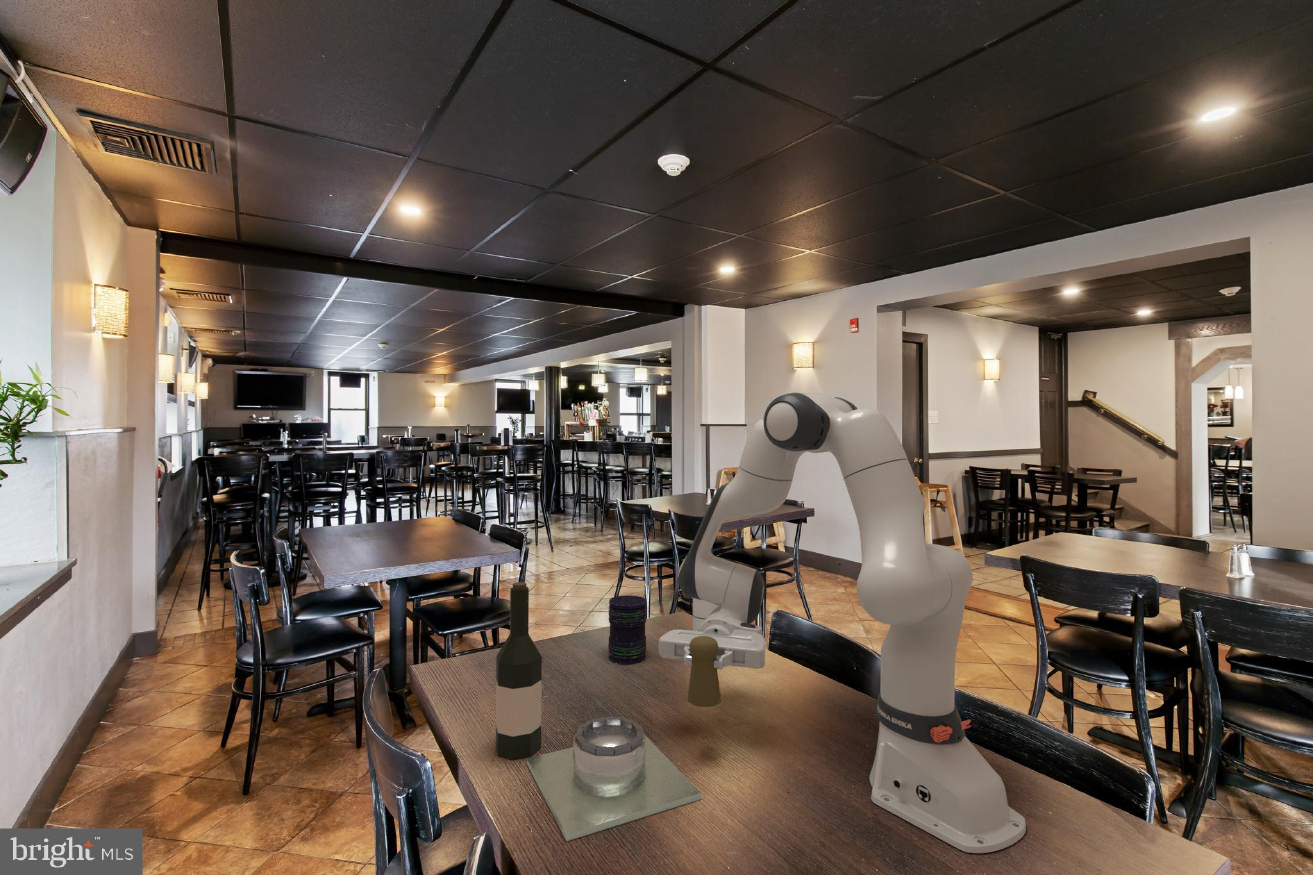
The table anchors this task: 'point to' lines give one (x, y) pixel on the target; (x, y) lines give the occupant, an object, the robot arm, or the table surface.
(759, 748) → the table surface
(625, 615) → the storage jar
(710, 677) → the cork
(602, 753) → the duct stub
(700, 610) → the cylindrical container
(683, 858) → the table surface
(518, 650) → the wine bottle
